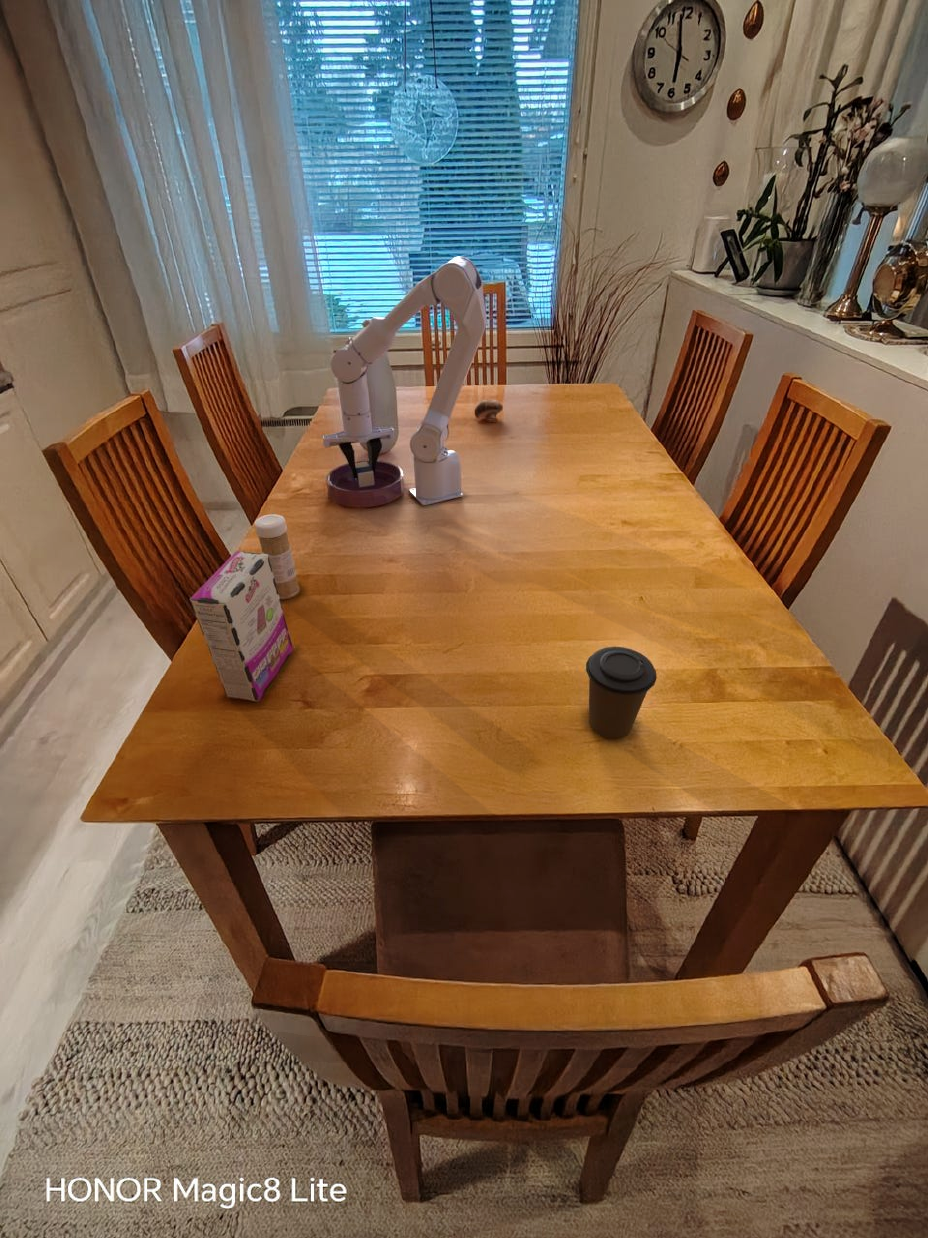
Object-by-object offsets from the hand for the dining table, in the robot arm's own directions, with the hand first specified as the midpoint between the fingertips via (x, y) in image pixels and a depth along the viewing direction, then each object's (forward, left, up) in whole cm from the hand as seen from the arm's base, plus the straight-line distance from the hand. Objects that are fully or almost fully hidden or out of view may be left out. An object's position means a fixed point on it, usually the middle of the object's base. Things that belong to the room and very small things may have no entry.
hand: (363, 475), depth 126 cm
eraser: (0, 0, -1) cm, 1 cm away
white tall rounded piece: (-11, -20, -4) cm, 23 cm away
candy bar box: (+33, +49, -4) cm, 59 cm away
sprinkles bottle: (+25, +31, -4) cm, 40 cm away
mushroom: (-46, -27, -4) cm, 54 cm away
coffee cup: (-4, +79, -4) cm, 79 cm away
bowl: (0, +1, -4) cm, 4 cm away
